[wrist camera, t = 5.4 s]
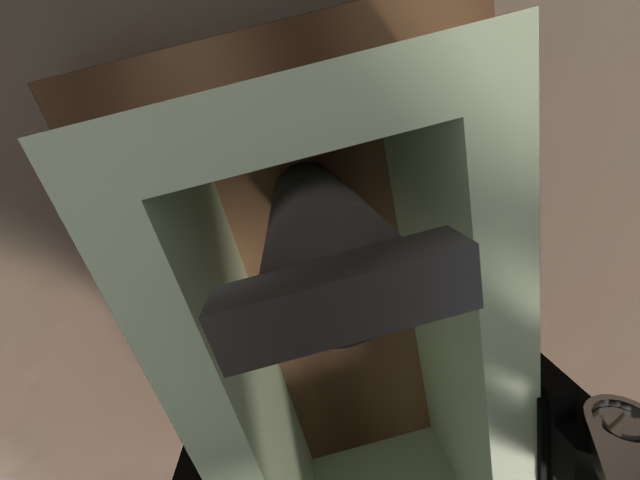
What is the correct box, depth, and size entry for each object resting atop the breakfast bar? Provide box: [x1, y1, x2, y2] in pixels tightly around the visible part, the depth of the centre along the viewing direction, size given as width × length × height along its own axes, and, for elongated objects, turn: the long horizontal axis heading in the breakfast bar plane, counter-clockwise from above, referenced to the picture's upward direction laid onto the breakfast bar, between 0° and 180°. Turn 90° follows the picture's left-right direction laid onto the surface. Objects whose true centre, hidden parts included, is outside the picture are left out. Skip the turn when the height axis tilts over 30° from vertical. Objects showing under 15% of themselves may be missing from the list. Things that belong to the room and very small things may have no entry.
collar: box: [17, 6, 541, 480], centre depth 9 cm, size 7×17×4 cm, turn 14°
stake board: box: [28, 0, 495, 459], centre depth 9 cm, size 12×20×8 cm, turn 14°
